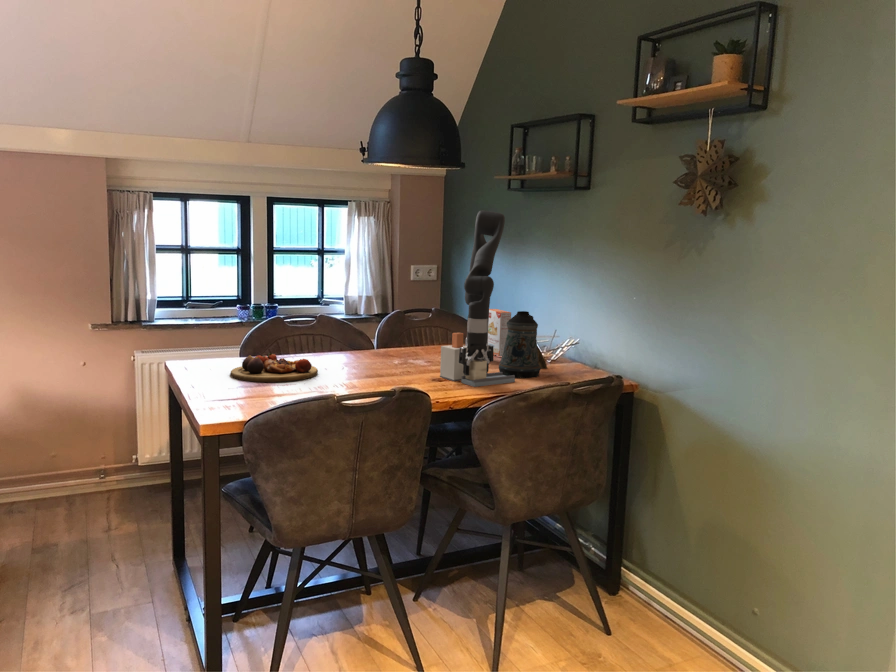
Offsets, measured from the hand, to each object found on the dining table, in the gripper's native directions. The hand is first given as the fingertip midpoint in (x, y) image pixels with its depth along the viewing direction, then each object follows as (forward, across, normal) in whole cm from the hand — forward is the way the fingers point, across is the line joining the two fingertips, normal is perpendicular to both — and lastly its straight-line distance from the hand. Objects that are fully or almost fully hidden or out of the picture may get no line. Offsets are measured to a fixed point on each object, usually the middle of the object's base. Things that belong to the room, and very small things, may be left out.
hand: (475, 374), depth 258 cm
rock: (+4, -44, -17) cm, 47 cm away
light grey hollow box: (+4, 0, -12) cm, 13 cm away
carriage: (+2, 0, 0) cm, 2 cm away
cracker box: (+4, -48, -47) cm, 67 cm away
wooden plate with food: (+4, +58, -49) cm, 76 cm away
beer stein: (+4, -28, -8) cm, 29 cm away
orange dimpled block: (-5, 0, -12) cm, 13 cm away
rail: (+4, -6, 0) cm, 7 cm away
